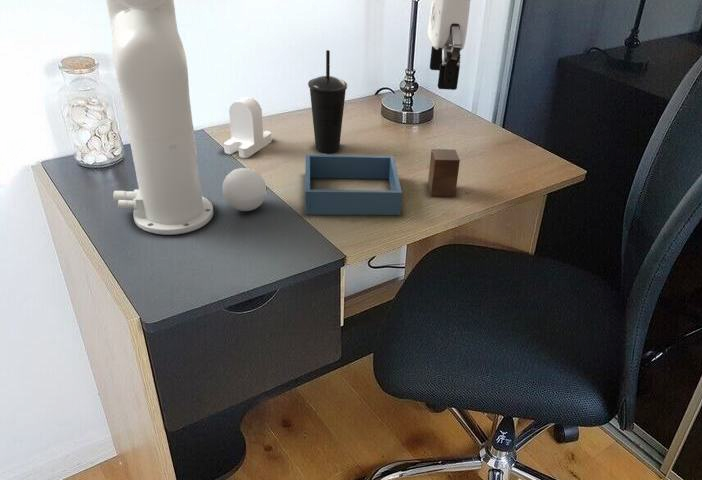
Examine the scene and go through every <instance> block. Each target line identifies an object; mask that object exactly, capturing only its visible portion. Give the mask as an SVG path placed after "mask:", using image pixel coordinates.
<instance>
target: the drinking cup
mask: <svg viewBox="0 0 702 480" xmlns="http://www.w3.org/2000/svg"><path fill="white" fill-rule="evenodd" d="M330 63H331V51H330V50H328V49H327V50H326V51H325V75H322V76H317V77H314V78H311V79H310V80H309V81H308V82H307V86H308V88H309V94H310V104H311V105H310V106H311V115H312V124H313V133H314V135H313V136H314V143H315V150H316V151H318V152H319V153H324V154H334V153H337V152H339V150H340V146H341V145H340V143H341V135H342V127H343V116H344V108H345V100H346V91H347V89H348V83H347V82H346V80H343V79H341V78H338V77H336V76H333V75H331V74H330V73H331V72H330V71H331V70H330V69H331V64H330Z"/></svg>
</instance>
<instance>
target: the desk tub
mask: <svg viewBox="0 0 702 480" xmlns="http://www.w3.org/2000/svg"><path fill="white" fill-rule="evenodd" d="M304 173H305V174H304V175H305V179H304V203H305V206H304V207H305V208H304V209H305V215H306V216H307V215H315V216H316V215H318V216H319V215H321V216H323V215H324V216H326V215H327V216H331V215H334V216H335V215H336V216H401V212H402V200H403V191H402V187H401V181H400V177H399V174H398V169H397V163H396V160H395V156H394V155H352V154H351V155H348V154H347V155H345V154H305V171H304ZM311 179H358V180H360V179H363V180H364V179H365V180H366V179H367V180H388V183H389V187H390V190H379V189H377V190H376V189H375V190H373V189H372V190H371V189H369V190H368V189H365V190H364V189H311Z"/></svg>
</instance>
